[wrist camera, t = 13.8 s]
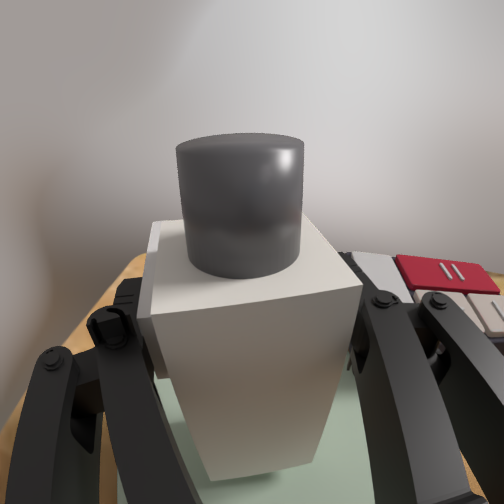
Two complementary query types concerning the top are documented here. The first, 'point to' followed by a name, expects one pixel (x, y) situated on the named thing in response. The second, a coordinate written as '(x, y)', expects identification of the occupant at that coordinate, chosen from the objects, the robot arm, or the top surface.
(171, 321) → the plug
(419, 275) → the calculator
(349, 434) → the mat
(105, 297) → the top surface
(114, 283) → the top surface
